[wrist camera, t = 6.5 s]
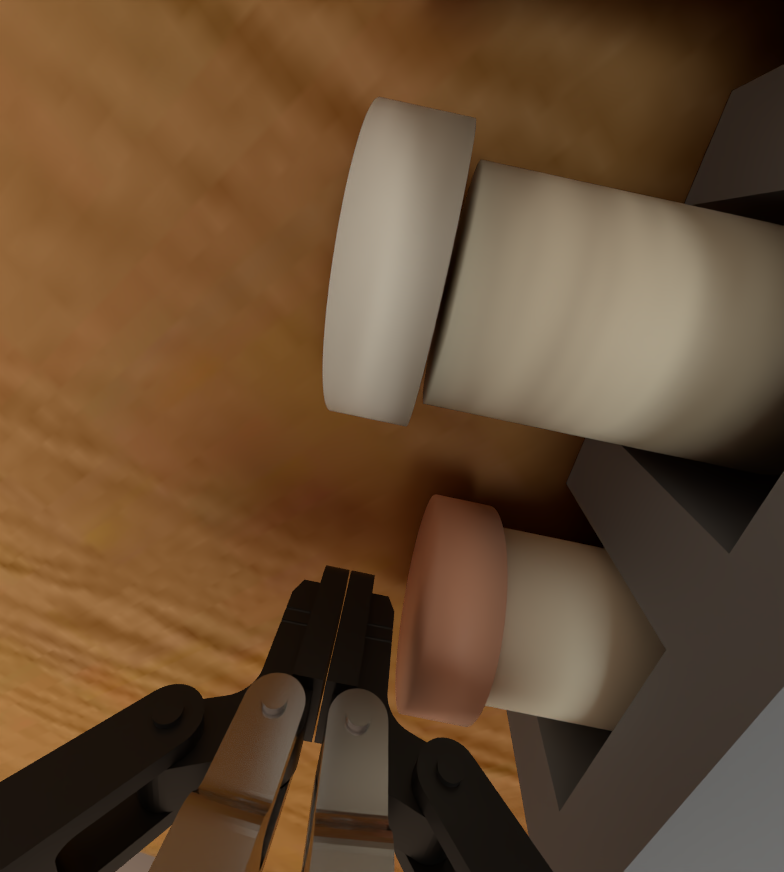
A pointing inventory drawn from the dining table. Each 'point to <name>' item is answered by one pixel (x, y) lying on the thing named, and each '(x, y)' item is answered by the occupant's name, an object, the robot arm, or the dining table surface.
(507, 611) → the terracotta plug
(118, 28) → the dining table surface
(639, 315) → the middle birch plug
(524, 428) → the dining table surface
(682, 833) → the socket block
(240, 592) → the dining table surface
